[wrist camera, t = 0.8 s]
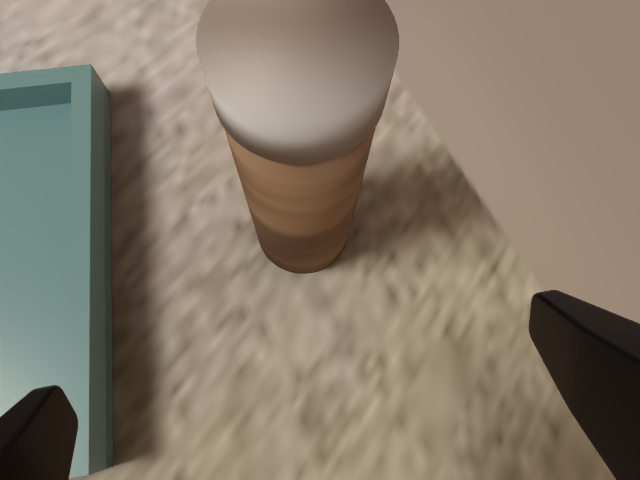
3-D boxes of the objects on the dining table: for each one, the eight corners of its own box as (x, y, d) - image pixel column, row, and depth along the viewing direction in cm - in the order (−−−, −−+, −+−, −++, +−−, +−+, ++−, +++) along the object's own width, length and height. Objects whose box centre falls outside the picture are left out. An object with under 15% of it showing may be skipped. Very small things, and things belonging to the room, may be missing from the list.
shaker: (357, 268, 24) (418, 110, 11) (261, 281, 24) (203, 135, 10) (341, 181, 26) (378, -49, 12) (251, 193, 25) (190, -32, 12)
